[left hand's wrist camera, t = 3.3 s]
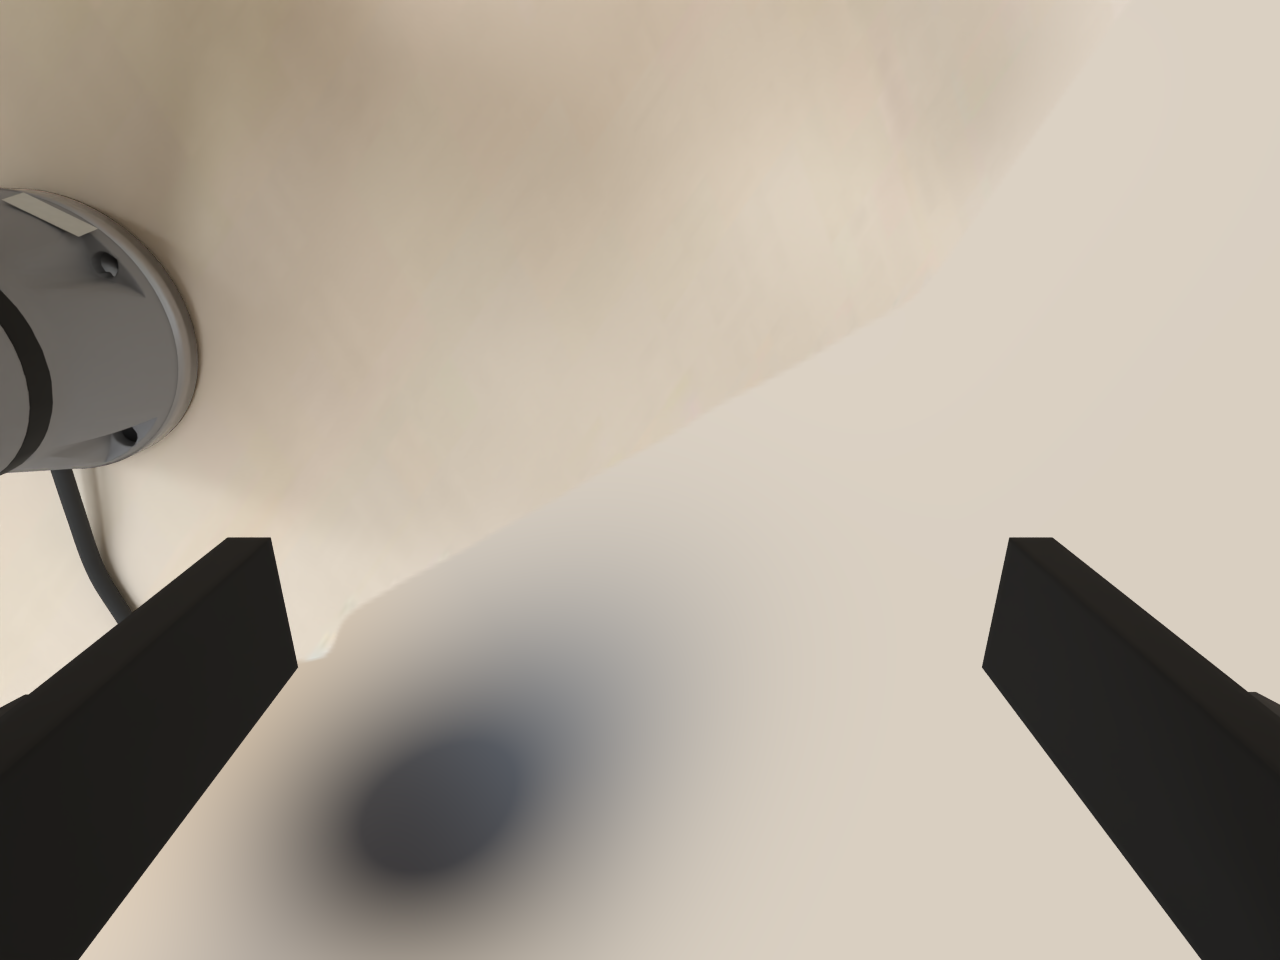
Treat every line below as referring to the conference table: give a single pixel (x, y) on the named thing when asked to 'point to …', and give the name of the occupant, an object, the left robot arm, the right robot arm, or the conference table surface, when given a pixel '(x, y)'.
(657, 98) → the conference table surface
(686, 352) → the conference table surface
